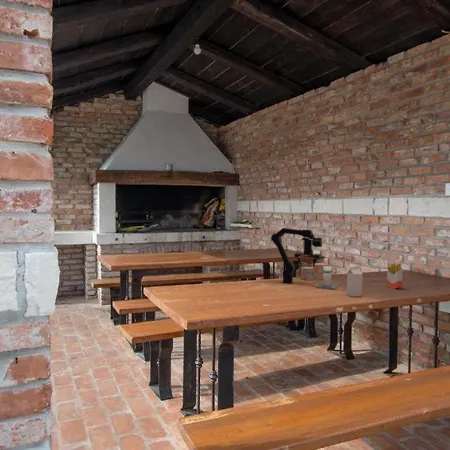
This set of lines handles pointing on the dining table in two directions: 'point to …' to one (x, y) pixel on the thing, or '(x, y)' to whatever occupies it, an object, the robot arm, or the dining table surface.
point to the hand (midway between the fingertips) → (307, 267)
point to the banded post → (327, 276)
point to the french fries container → (394, 276)
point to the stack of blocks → (313, 271)
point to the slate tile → (327, 287)
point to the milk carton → (354, 282)
